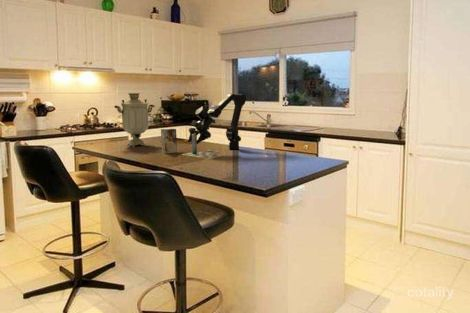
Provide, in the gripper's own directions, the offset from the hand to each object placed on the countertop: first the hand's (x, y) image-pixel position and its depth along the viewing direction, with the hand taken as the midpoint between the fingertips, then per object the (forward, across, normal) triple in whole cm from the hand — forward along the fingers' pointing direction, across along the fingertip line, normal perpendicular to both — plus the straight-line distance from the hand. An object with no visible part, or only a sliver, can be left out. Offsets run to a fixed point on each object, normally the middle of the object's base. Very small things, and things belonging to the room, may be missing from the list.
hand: (192, 142), depth 258 cm
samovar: (+10, -71, +3) cm, 71 cm away
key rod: (+4, 0, +6) cm, 8 cm away
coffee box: (+9, -23, +4) cm, 25 cm away
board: (+4, +6, +8) cm, 11 cm away
